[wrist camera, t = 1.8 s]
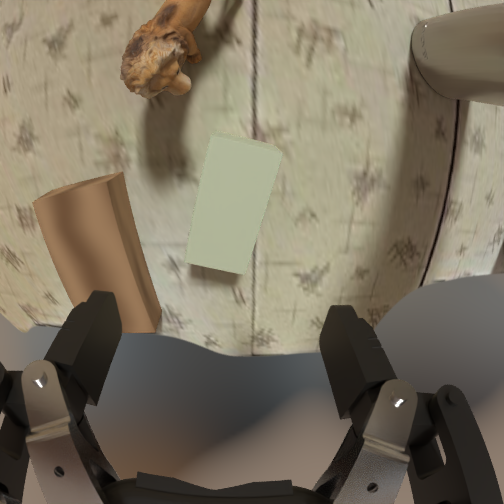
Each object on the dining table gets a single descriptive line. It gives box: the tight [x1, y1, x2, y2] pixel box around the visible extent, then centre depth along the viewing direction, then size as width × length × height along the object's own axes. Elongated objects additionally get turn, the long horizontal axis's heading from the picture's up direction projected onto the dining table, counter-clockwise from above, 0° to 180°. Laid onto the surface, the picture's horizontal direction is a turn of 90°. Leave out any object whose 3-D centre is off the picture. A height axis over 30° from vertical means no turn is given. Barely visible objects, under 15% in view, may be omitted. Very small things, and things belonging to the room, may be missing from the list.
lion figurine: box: [120, 0, 211, 99], centre depth 12 cm, size 15×5×9 cm, turn 161°
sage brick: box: [184, 131, 283, 275], centre depth 22 cm, size 5×10×5 cm, turn 164°
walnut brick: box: [32, 172, 162, 333], centre depth 25 cm, size 9×16×4 cm, turn 5°
